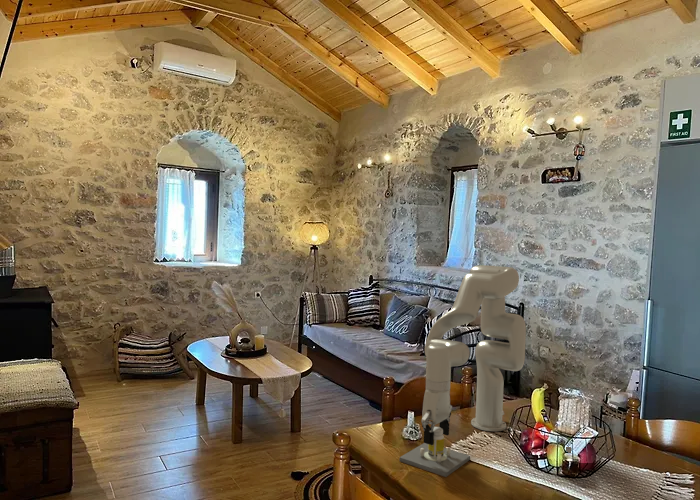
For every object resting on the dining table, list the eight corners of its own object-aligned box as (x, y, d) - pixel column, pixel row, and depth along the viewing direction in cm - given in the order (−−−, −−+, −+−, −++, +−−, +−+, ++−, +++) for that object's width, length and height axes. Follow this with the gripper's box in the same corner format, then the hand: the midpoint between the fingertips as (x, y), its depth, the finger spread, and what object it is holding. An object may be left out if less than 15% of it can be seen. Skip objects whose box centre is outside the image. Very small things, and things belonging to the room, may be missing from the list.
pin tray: (425, 445, 177) (426, 434, 177) (470, 459, 167) (470, 447, 167) (399, 461, 165) (399, 449, 164) (445, 477, 155) (446, 464, 155)
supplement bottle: (444, 453, 168) (445, 427, 167) (442, 459, 163) (443, 432, 163) (429, 451, 169) (430, 425, 169) (426, 457, 165) (427, 430, 164)
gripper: (440, 376, 174) (439, 427, 175) (412, 388, 161) (411, 444, 162) (461, 380, 170) (460, 433, 170) (434, 393, 156) (433, 451, 157)
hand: (436, 438), depth 166 cm, fingers open, 9 cm apart
